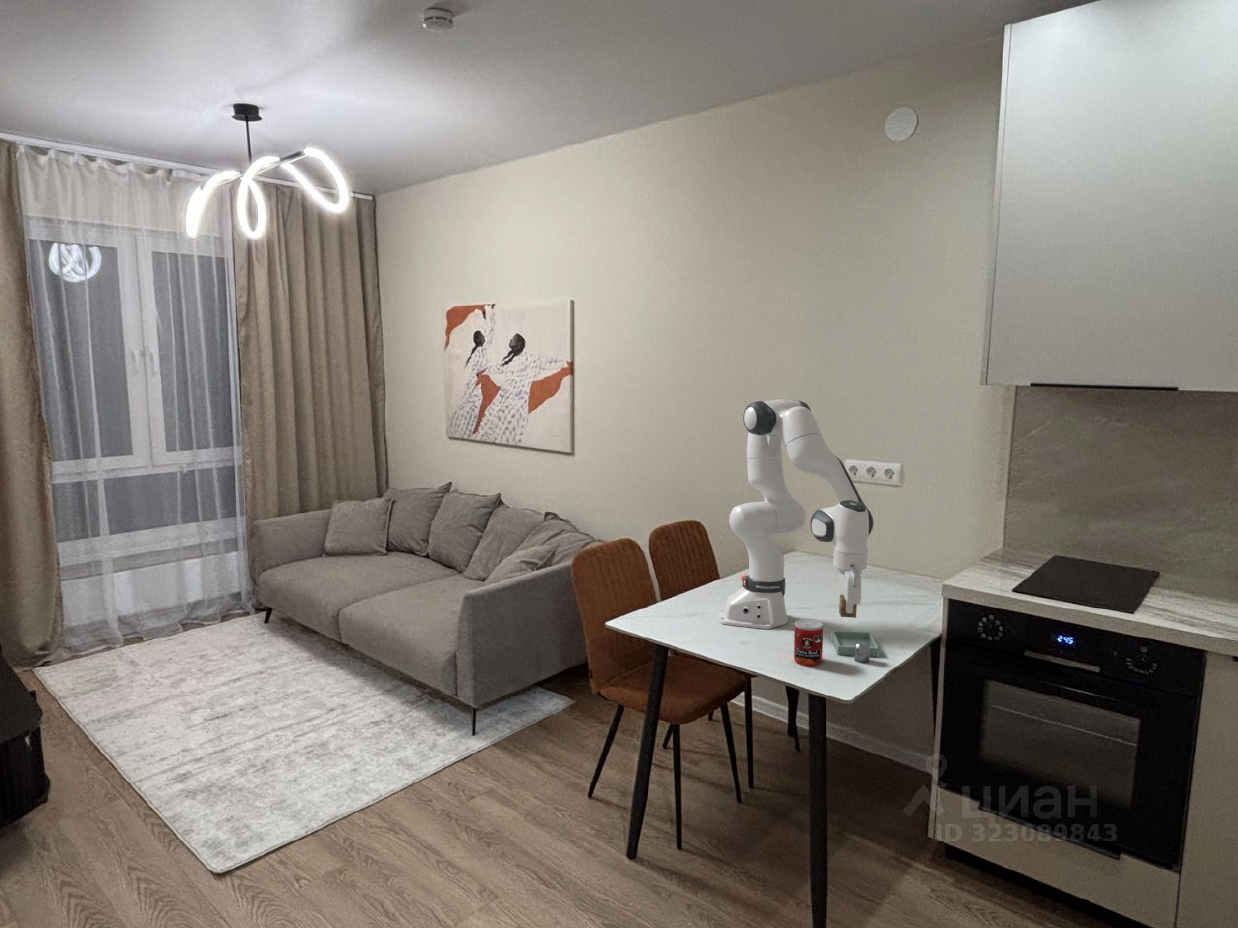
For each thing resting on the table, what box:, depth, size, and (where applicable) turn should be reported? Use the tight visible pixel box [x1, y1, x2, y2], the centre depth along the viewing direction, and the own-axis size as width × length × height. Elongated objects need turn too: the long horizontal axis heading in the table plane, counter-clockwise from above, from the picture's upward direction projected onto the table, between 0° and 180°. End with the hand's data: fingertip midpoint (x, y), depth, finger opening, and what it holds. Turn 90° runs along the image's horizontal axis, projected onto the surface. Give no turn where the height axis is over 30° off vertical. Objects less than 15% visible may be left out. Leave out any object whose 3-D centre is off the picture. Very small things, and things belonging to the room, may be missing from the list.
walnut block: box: [838, 594, 858, 619], centre depth 208 cm, size 4×4×5 cm
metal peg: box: [853, 641, 871, 665], centre depth 210 cm, size 4×4×5 cm
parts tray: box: [830, 630, 880, 658], centre depth 220 cm, size 11×13×2 cm
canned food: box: [793, 618, 824, 667], centre depth 209 cm, size 8×8×11 cm
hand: (847, 608), depth 208 cm, fingers closed on walnut block, 4 cm apart
